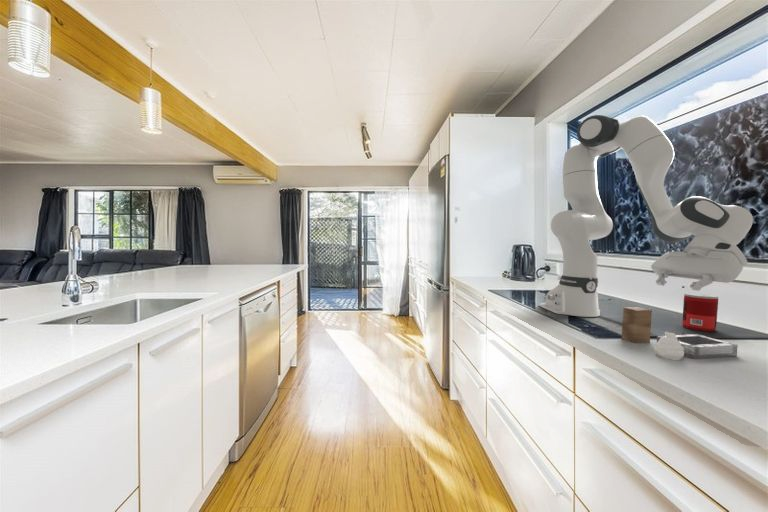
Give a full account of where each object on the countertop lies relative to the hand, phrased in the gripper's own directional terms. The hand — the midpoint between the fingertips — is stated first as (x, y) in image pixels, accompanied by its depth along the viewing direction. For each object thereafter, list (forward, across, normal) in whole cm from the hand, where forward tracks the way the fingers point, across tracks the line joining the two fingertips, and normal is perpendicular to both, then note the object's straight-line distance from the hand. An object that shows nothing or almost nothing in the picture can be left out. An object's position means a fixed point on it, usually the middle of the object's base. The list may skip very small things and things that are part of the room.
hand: (675, 286), depth 94 cm
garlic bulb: (+23, +12, -1) cm, 26 cm away
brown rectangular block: (+20, 0, +2) cm, 20 cm away
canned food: (-4, -8, +25) cm, 27 cm away
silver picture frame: (+15, +10, +7) cm, 19 cm away
